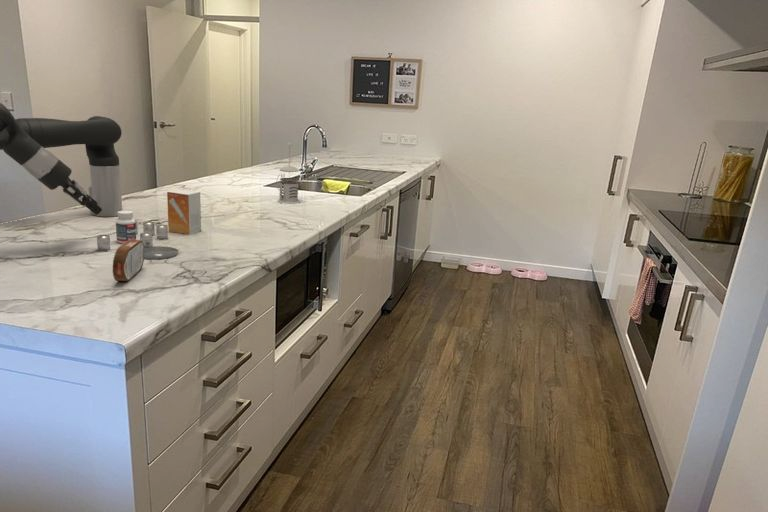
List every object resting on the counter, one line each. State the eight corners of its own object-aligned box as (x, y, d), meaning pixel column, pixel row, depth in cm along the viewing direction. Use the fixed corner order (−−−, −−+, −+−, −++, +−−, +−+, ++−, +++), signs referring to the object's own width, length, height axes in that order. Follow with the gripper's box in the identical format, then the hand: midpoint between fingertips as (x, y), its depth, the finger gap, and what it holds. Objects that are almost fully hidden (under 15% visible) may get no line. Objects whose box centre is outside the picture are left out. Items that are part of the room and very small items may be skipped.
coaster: (127, 257, 149) (127, 255, 149) (148, 246, 160) (148, 244, 160) (166, 261, 148) (166, 259, 148) (185, 250, 159) (185, 248, 159)
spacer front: (154, 239, 168) (154, 226, 167) (159, 236, 171) (159, 224, 170) (164, 240, 168) (164, 227, 167) (169, 237, 171) (169, 225, 170)
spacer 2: (138, 248, 158) (137, 234, 157) (144, 245, 161) (143, 232, 160) (149, 249, 158) (148, 235, 157) (154, 246, 161) (154, 233, 160)
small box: (168, 231, 178) (166, 191, 174) (180, 227, 183) (179, 188, 180) (189, 235, 175) (188, 194, 172) (201, 230, 181) (200, 191, 178)
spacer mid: (141, 236, 171) (140, 223, 169) (146, 233, 174) (146, 221, 173) (151, 236, 170) (150, 224, 169) (156, 234, 173) (156, 222, 172)
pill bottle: (129, 244, 161) (127, 214, 158) (113, 242, 162) (110, 212, 159) (140, 240, 166) (138, 211, 163) (124, 238, 167) (122, 209, 164)
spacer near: (95, 251, 153) (94, 237, 152) (102, 248, 156) (101, 234, 155) (106, 252, 153) (105, 238, 152) (112, 249, 156) (111, 235, 155)
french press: (305, 202, 239) (306, 143, 232) (286, 205, 229) (287, 144, 222) (287, 198, 244) (288, 140, 237) (269, 201, 234) (269, 141, 227)
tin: (134, 266, 143) (132, 234, 140) (147, 267, 143) (145, 235, 141) (112, 286, 128) (109, 251, 126) (126, 286, 129) (124, 251, 126)
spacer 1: (124, 234, 171) (123, 221, 170) (130, 232, 174) (129, 219, 173) (134, 235, 171) (133, 222, 169) (139, 233, 174) (139, 220, 173)
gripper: (34, 173, 152) (84, 213, 161) (37, 182, 140) (90, 224, 150) (55, 154, 153) (103, 194, 163) (59, 161, 142) (111, 204, 151)
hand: (97, 209), depth 156 cm, fingers open, 8 cm apart
